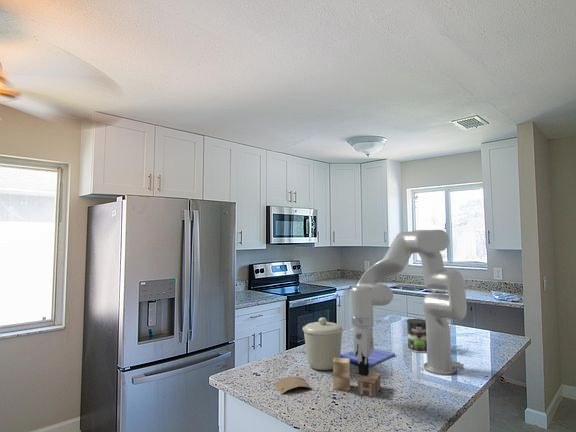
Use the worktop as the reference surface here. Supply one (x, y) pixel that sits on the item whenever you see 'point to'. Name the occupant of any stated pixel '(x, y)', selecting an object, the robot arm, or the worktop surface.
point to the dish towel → (374, 358)
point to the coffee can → (417, 335)
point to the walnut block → (369, 384)
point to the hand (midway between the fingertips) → (363, 374)
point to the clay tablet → (290, 383)
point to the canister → (322, 343)
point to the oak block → (341, 374)
